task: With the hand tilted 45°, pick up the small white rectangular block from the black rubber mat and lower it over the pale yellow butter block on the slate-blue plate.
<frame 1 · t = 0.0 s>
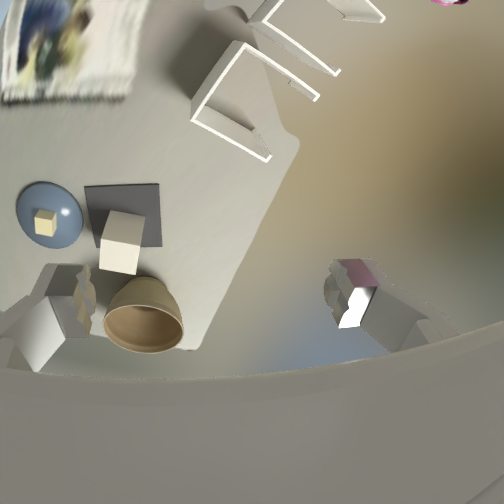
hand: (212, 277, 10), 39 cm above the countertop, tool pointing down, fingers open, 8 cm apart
storage container: (270, 51, 38), on the countertop
butter: (49, 215, 48), resting on plate
white rectangular block: (125, 227, 53), resting on mat
mat: (124, 217, 52), on the countertop
planter bowl: (146, 290, 64), on the countertop
plate: (49, 215, 48), on the countertop
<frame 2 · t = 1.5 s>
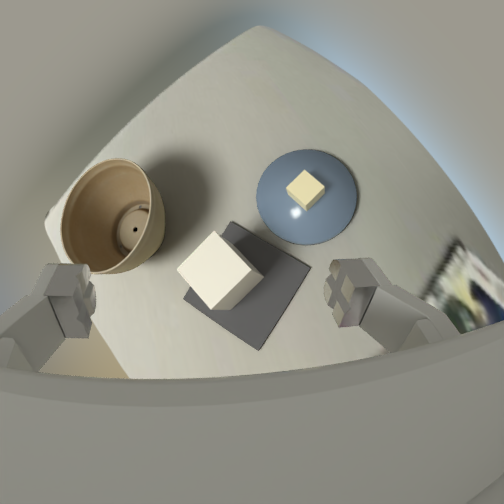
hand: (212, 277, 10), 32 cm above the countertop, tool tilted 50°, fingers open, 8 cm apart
butter: (306, 196, 43), resting on plate
white rectangular block: (231, 276, 43), resting on mat
mat: (244, 284, 43), on the countertop
planter bowl: (141, 232, 48), on the countertop
plate: (306, 196, 43), on the countertop
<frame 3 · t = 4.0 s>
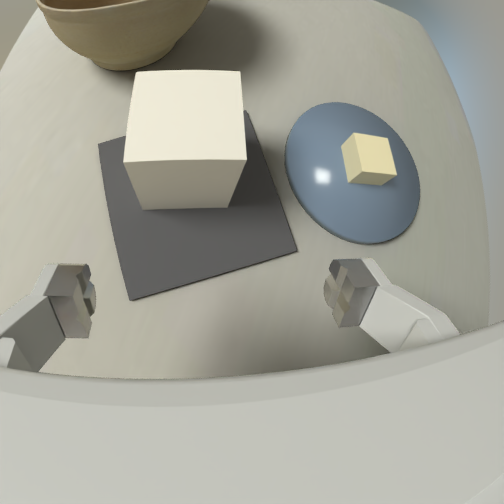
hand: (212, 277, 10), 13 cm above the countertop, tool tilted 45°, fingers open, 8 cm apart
butter: (356, 169, 27), resting on plate
white rectangular block: (184, 169, 23), resting on mat
mat: (191, 194, 24), on the countertop
planter bowl: (133, 43, 25), on the countertop
plate: (356, 169, 27), on the countertop
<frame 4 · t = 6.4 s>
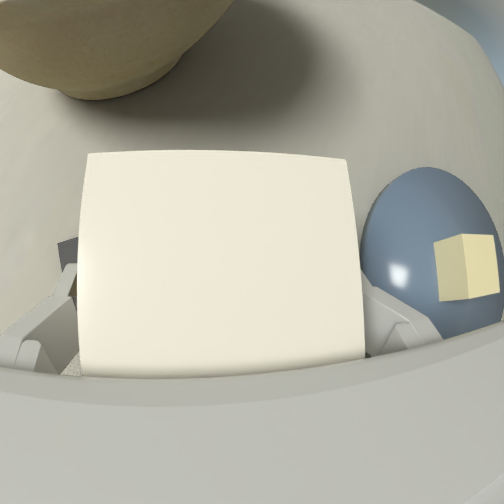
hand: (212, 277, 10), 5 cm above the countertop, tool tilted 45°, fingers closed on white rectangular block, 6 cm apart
butter: (444, 272, 18), resting on plate
white rectangular block: (205, 300, 14), resting on mat, touching gripper
mat: (217, 341, 14), on the countertop
planter bowl: (118, 53, 16), on the countertop
plate: (444, 272, 18), on the countertop
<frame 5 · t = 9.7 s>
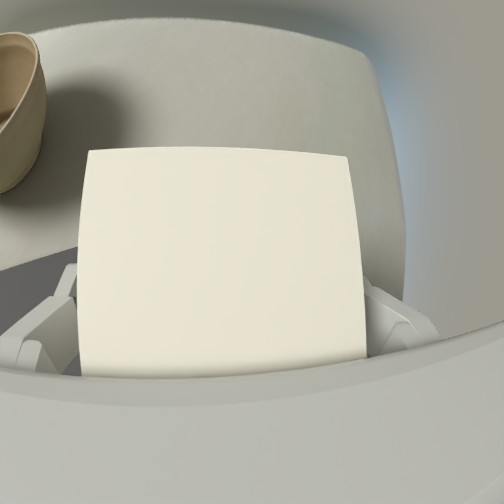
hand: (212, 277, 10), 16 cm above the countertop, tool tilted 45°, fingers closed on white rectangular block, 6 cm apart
white rectangular block: (205, 299, 14), point 12 cm above the countertop, touching gripper
mat: (41, 333, 22), on the countertop
planter bowl: (8, 155, 24), on the countertop
when the fingers open (7 cm above the countertop, at t = 12.6 s): white rectangular block drops 2 cm, resting on plate.
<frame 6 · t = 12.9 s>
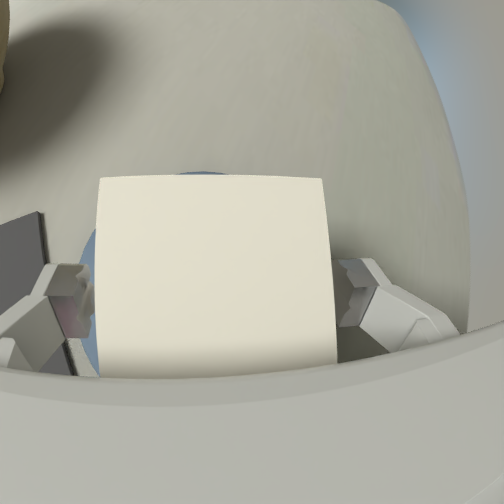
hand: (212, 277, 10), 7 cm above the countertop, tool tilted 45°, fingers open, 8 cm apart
white rectangular block: (203, 300, 16), point 1 cm above the countertop, touching plate
plate: (204, 301, 17), on the countertop
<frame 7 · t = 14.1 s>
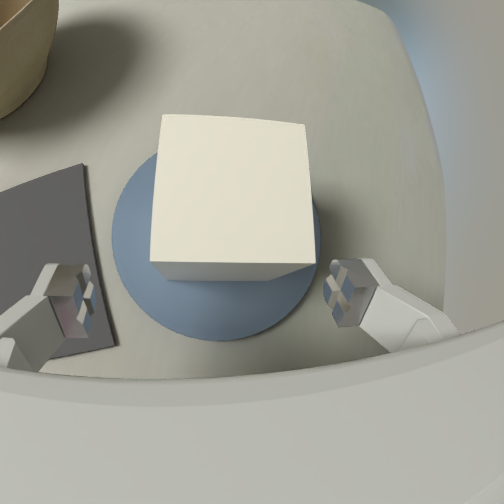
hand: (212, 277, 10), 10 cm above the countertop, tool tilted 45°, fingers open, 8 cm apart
white rectangular block: (217, 230, 20), point 1 cm above the countertop, touching plate
mat: (18, 271, 18), on the countertop
planter bowl: (9, 86, 20), on the countertop
plate: (217, 233, 21), on the countertop
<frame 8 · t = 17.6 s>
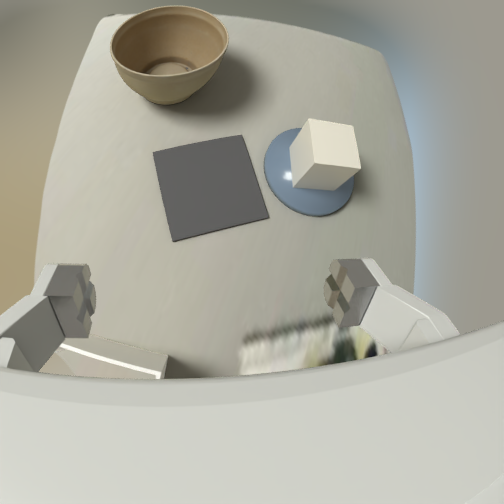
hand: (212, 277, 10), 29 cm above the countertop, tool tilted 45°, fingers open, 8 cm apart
storage container: (114, 430, 33), on the countertop
white rectangular block: (311, 168, 44), point 1 cm above the countertop, touching plate
mat: (208, 184, 41), on the countertop
planter bowl: (169, 84, 43), on the countertop
plate: (309, 171, 45), on the countertop
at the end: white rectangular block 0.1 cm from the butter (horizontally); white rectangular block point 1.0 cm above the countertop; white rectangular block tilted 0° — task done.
